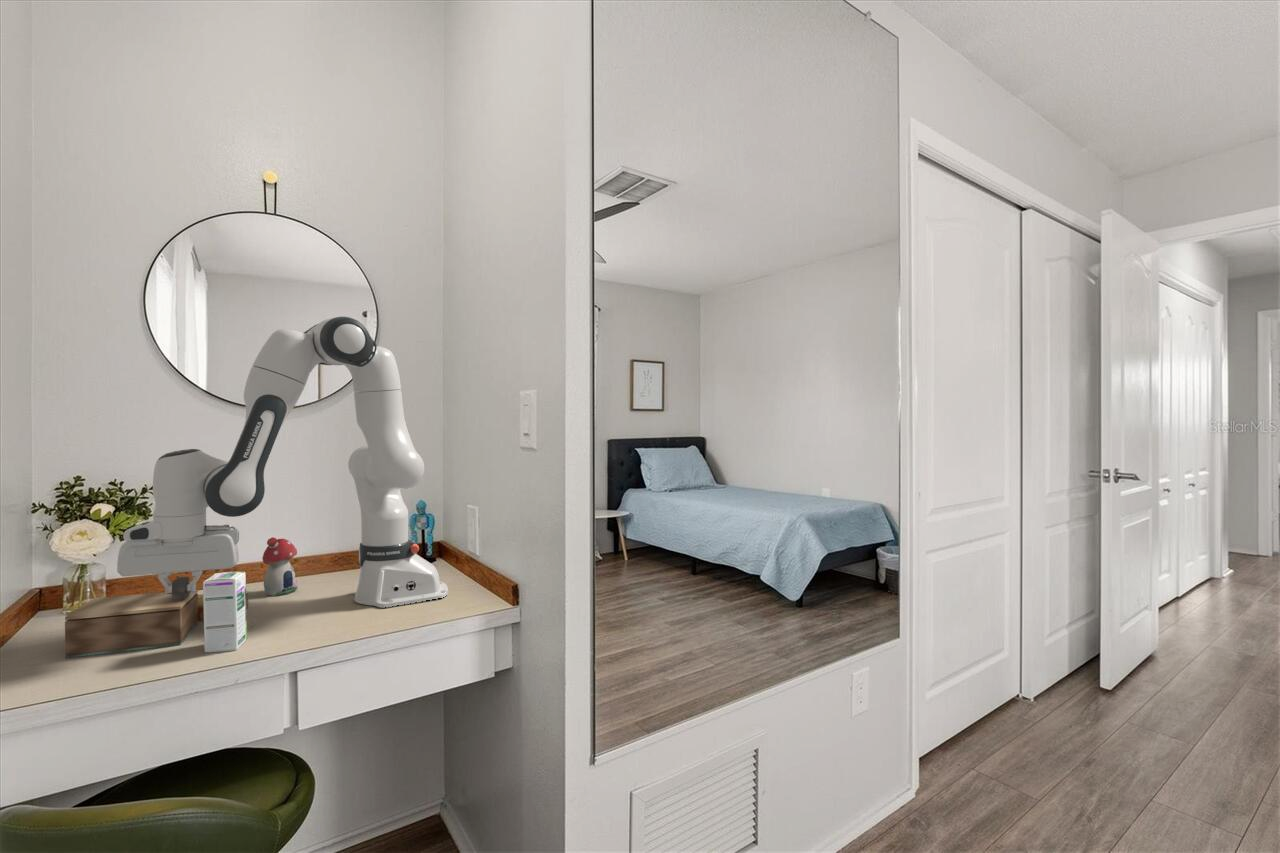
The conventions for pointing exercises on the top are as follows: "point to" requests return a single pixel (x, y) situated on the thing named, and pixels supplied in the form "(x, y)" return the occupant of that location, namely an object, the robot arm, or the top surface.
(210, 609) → the syrup box
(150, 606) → the lid
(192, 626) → the walnut box
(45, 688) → the top surface
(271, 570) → the decorative ornament
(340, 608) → the top surface
